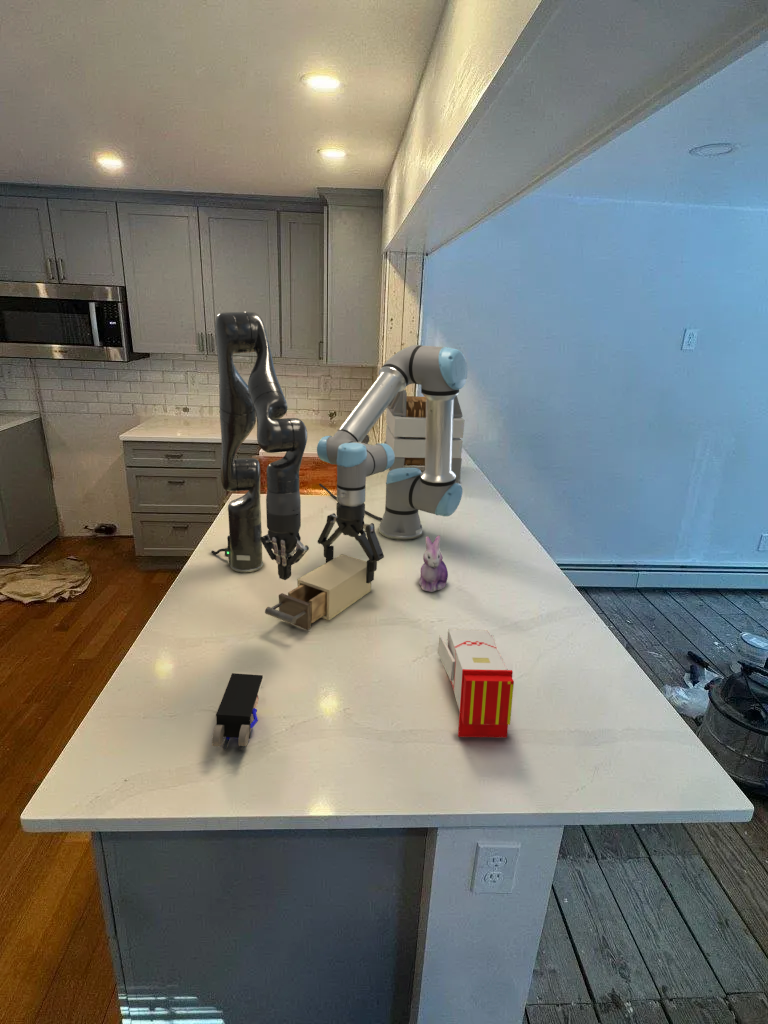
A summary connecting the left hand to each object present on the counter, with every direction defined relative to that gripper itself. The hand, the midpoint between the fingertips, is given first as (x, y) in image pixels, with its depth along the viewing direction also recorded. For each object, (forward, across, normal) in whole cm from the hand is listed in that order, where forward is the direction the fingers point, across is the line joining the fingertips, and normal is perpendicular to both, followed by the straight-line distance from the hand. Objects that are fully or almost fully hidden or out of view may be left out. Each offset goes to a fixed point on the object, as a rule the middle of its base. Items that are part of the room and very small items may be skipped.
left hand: (284, 578), depth 132 cm
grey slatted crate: (+15, -41, +146) cm, 152 cm away
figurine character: (+15, +15, -30) cm, 37 cm away
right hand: (+10, 0, +27) cm, 28 cm away
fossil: (+15, -86, +159) cm, 182 cm away
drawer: (+14, 0, +9) cm, 17 cm away
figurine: (+15, +18, +43) cm, 49 cm away
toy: (+15, +46, +4) cm, 48 cm away
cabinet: (+15, 0, +20) cm, 25 cm away
